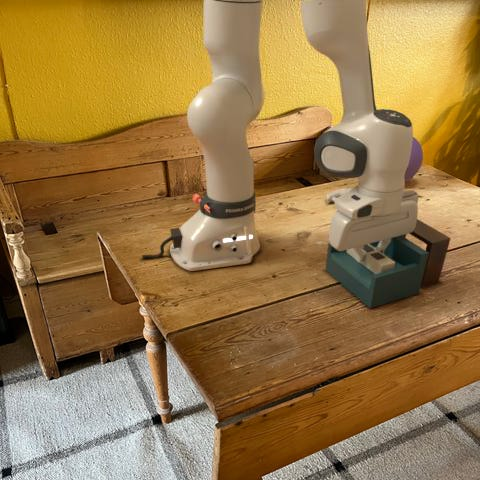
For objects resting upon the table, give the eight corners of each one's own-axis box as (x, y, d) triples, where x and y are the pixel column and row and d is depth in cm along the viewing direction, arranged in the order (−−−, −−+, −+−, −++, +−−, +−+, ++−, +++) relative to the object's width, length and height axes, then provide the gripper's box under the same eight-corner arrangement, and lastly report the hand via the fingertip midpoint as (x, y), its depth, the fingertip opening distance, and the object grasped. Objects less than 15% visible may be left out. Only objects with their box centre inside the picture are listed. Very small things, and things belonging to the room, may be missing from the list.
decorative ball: (367, 172, 166) (374, 125, 156) (414, 174, 164) (424, 127, 155) (370, 189, 154) (377, 140, 145) (420, 192, 152) (431, 142, 143)
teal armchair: (370, 308, 104) (377, 267, 98) (325, 270, 116) (329, 231, 110) (418, 293, 108) (429, 252, 102) (370, 257, 121) (377, 219, 114)
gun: (365, 175, 153) (390, 186, 147) (363, 186, 155) (388, 197, 149) (321, 192, 145) (346, 204, 139) (321, 203, 147) (345, 215, 141)
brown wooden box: (421, 287, 110) (432, 243, 103) (381, 258, 120) (389, 216, 113) (438, 282, 112) (450, 238, 105) (397, 254, 122) (406, 212, 115)
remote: (379, 277, 103) (381, 265, 102) (345, 252, 112) (347, 240, 110) (392, 273, 105) (395, 261, 103) (358, 248, 113) (360, 236, 111)
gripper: (409, 183, 105) (397, 241, 113) (327, 201, 98) (321, 262, 107) (430, 193, 101) (416, 253, 109) (346, 213, 94) (338, 276, 102)
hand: (369, 258), depth 108 cm, fingers closed on remote, 3 cm apart
